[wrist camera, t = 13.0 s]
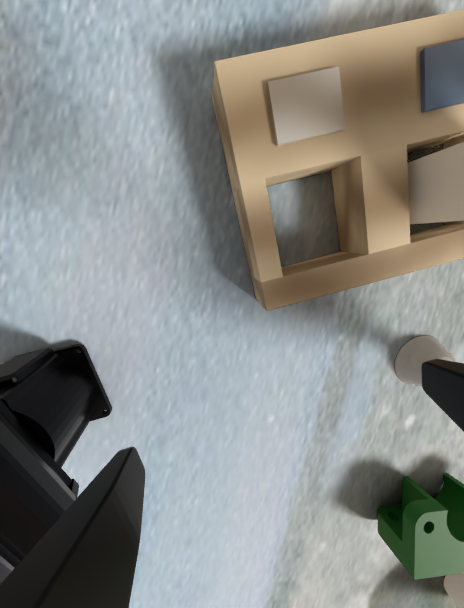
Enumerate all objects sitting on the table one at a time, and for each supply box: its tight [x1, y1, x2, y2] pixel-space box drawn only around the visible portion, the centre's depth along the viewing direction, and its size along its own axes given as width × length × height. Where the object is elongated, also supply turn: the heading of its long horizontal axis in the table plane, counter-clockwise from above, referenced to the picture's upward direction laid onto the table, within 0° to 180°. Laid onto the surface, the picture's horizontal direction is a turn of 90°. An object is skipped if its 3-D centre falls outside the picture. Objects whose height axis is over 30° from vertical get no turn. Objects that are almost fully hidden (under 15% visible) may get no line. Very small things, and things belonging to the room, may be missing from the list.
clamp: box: [378, 474, 464, 580], centre depth 26 cm, size 12×6×9 cm, turn 81°
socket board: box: [212, 10, 464, 311], centre depth 17 cm, size 14×18×4 cm
